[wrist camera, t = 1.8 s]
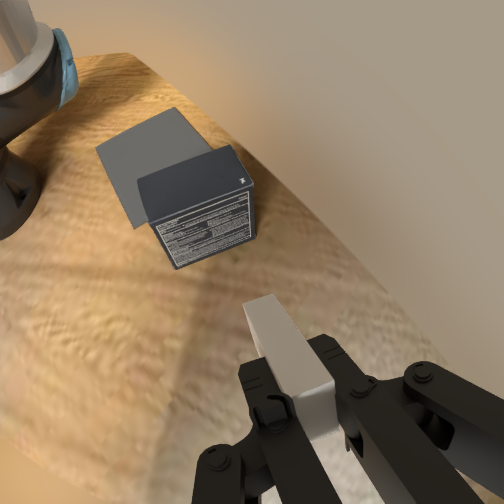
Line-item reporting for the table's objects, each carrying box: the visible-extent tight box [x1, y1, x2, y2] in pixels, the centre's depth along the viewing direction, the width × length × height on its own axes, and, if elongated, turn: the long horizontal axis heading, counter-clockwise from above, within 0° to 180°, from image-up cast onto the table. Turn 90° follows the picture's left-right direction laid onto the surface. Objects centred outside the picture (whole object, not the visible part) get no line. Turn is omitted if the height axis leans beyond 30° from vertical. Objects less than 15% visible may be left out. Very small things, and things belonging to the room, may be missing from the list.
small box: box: [137, 145, 256, 270], centre depth 34 cm, size 11×6×10 cm, turn 114°
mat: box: [95, 107, 213, 229], centre depth 44 cm, size 19×15×1 cm
